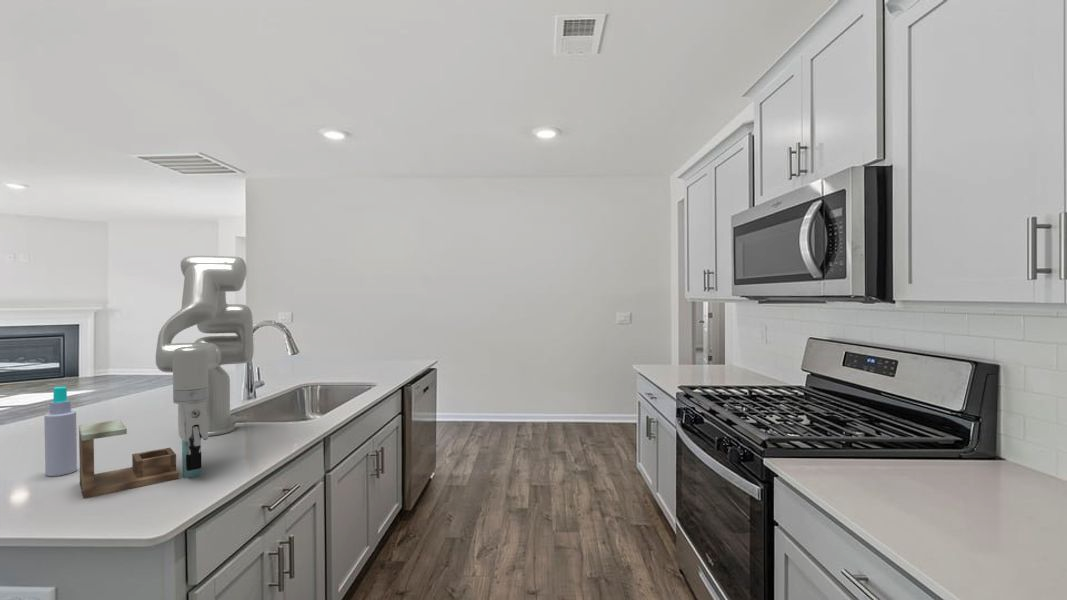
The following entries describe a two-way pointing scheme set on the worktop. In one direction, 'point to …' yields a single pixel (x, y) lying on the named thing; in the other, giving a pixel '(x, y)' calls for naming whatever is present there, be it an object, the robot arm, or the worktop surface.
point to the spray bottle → (60, 436)
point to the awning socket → (142, 472)
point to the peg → (185, 473)
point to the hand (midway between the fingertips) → (191, 466)
